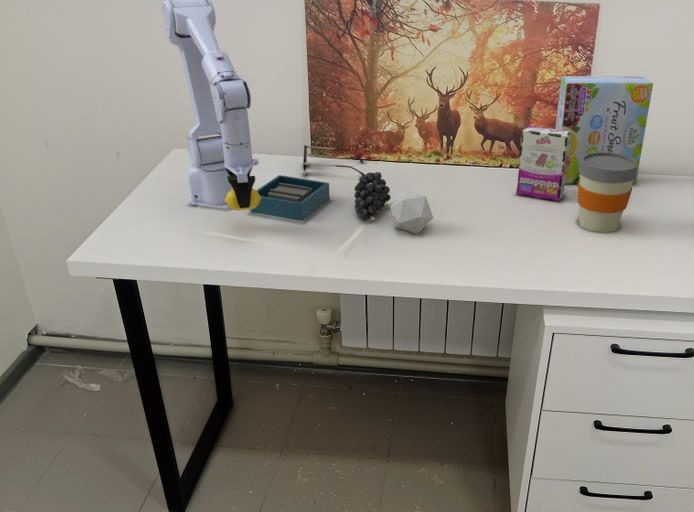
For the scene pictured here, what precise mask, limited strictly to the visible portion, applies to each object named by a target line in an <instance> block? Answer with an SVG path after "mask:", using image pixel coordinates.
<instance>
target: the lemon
mask: <svg viewBox="0 0 694 512" xmlns="http://www.w3.org/2000/svg"><path fill="white" fill-rule="evenodd" d="M256 190H257V189H255V188H253V187H252V191H251V201H250V207H249V208H240V207H239V205H238V202H237V198H236V195H235V192H234V190H233V189H232V190H230V191H229V192H228V194H227V196H226V198H225V202H226V203H227V204H228V206H229V207H228V208H229V209H231V210H233V211H244V210H245V211H246V210H250V209H253V208H255V207H257V206H258V204H259V202H260V200H261V196H260V195H259V193H258V192H257V191H256Z"/></svg>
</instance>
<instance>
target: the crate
mask: <svg viewBox="0 0 694 512" xmlns="http://www.w3.org/2000/svg"><path fill="white" fill-rule="evenodd" d="M279 183H285V184H291V185H298V186H304V187H310V188H312V194H311V195H310V196H308V197H307V198H306V199H304V200H303V201H302V202H300V203H299V202H293V201H287V200H281V199H275V198H269V197H268V193H269V192H270V189H275V188H277V187H278V186H279ZM255 190H256V191H257V192H258V193H259V195H260V196H261V200H260V202H259V204H258V206H257V207H255V208H253V209H249V211H250V213H255V214H258V215H259V214H260V215H264V216H265V215H266V216H271V217H277V218H283V219H287V220H288V219H289V220H295V221H300V222H303V221H304V220H305V219H307V218H308V217H309V216H310V215H312V214H313V213H314V212H315V211H317V210H318V209H319V208H321V207H322V206H323V205H324V204H326V203H327V202H328V201H329V200H330V198H331V196H330V182H325V181H320V180H313V179H306V178H300V177H293V176H287V175H282V174H279V175H277V176H275V177H274V178H272V179H271V180H269V181H268V182H267V183H265V184H264V185H262V186H261V187H259V188H258V189H255Z"/></svg>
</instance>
